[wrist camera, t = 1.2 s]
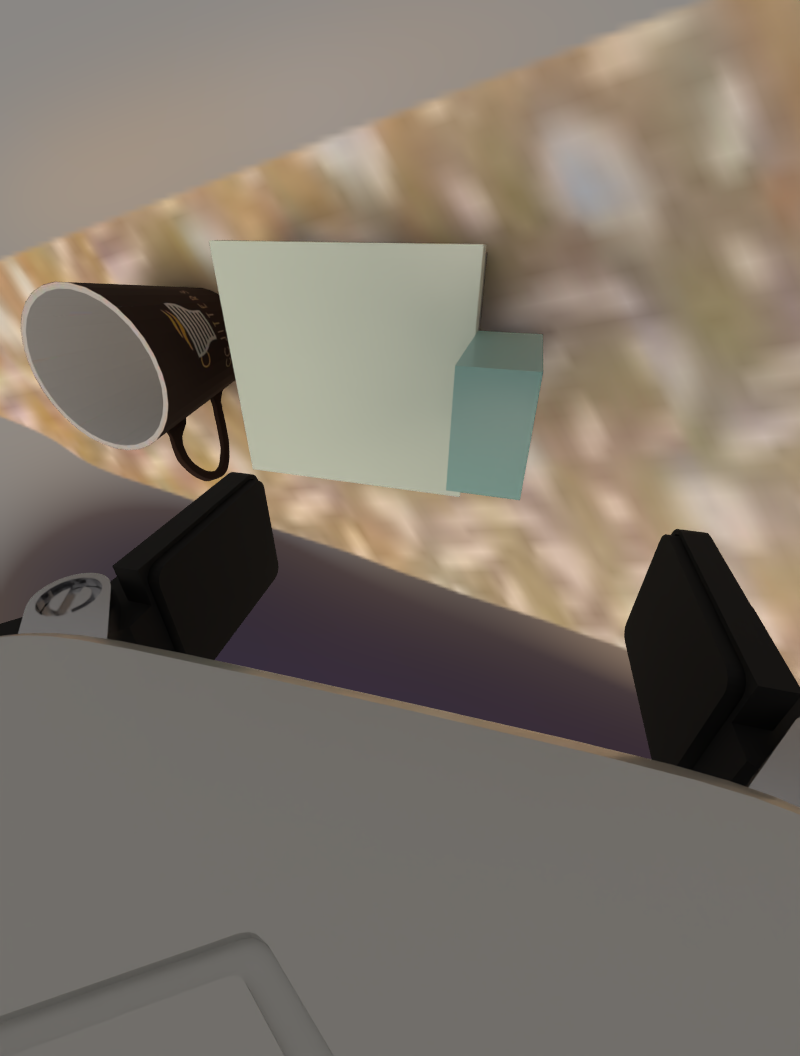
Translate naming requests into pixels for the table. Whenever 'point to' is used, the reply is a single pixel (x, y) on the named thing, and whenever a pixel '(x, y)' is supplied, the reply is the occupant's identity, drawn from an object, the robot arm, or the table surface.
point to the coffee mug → (130, 361)
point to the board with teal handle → (377, 365)
